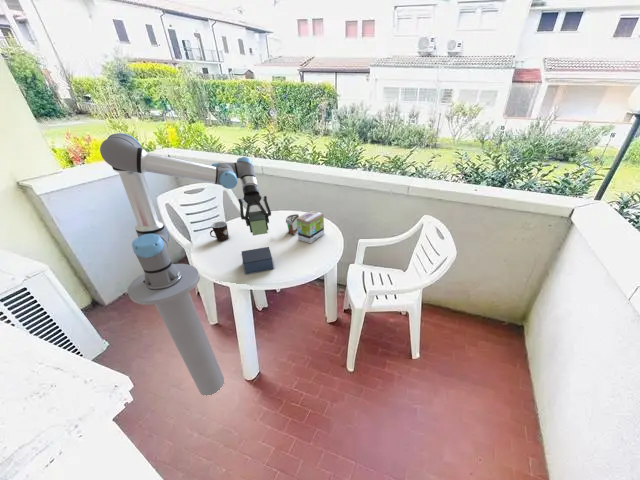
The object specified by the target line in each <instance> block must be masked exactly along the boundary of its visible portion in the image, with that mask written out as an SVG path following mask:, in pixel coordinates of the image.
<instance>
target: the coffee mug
mask: <svg viewBox="0 0 640 480" xmlns="http://www.w3.org/2000/svg"><path fill="white" fill-rule="evenodd" d="M211 228H212V230H210V232H209V235H210V237H212V238H216V240H217V241H218V242H226V241H228V240H229V239H230V238H229V237H230V236H229V229H228V223H227V222H226V221H216V222H213V223H212V224H211ZM212 233H214V235H215V236H214V235H213V234H212Z"/></svg>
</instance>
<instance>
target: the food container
mask: <svg viewBox="0 0 640 480" xmlns="http://www.w3.org/2000/svg"><path fill="white" fill-rule="evenodd" d="M298 217H300V216H299V214H297V213H296V214H290V215H288V216H287V217H286V218H285V224H287V225H286V226H287V229H288V233H289V235H292V236H295V235H296V234H297V233H298V230H297V218H298Z"/></svg>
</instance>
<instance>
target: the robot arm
mask: <svg viewBox="0 0 640 480" xmlns="http://www.w3.org/2000/svg"><path fill="white" fill-rule="evenodd" d="M99 153H100V156H101V158H102V159H103V160H104V162H105V163H106V164H108V165H109V166H111V168H112V170H113V171H115V172H116V173H118V174H119V177H120V180H121V182H122V186H123V188H124V191H125V194H126V197H127V199H128V201H129V204H130V207H131V209H132V213H133V215H134V218H135V220H136V223H137V224H136V225H135V227H134V229H135V232H136V235H137V237H136V238H135V239H134V240H133V241H132V242H131V247H132V251H133V253H134V254H135V256H136V258H137V260H138V262H139V264H140V266H141V268H142V270H143V273H145V280H144V281H143V282H144V283H145V284H146V286H147V288H148V289H150V290H162V289H166V288H169V287H171V286H173V285H175V284H177V283H178V282H179V281H180V280H181V278H182V275H181V273H180V271H179V270H178V269H177V268H176V267H175V266H174V265H173V264H174V263H172V260H171V258H170V256H169V252H168V247H169V241H170V234H169V232H168V230H167V229H166V227H165V224H164V222H163V221H160V220H159V217H158V215H157V211H156V207H155V205H154V202H153V198H152V195H151V192H150V188H149V186H148V182H147V179H146V176H145V174H146V172H147V173H152V174H157V175H158V174H159V175H163V176H168V177H173V178H181V179H184V180H190V181H197V182H203V183H206V184H207V183H208V184H214V185H220V186H222V187H223V188H225V189H228V190H232V189H234V188H235V187H237V186H238V179H240V185H241V188H242V193H243V198H238V199H237V201H238V204H239V211H240V219H241V220H244V221H245V225H246V227H249V231H250V233H251V234H253V233H252V229H251V224H250V222H249V217H248V214H249V212H251V207H253V206H257V207H258V208H259V211H262V212H263V213H264V215H265V219H266V220H265V221H266V227H267V231H269V225H268V224H270V219H269V217H271V216H272V212H271V209H270V208H271V207H270V206H269V203H268V197H267V195H264V196H261V193H260V189H259V185H258V180H257V177H256V171H255V166H254V163H253V160H252V159H251V158H250V157H247V156H242V157H239V158H237V159H236V162H214V163H211V165H209V164H204V163H201V162H196V161H190V160H185V159H181V158H176V157H173V156H167V155H162V154H158V153H154V152H148V151H147V150H145V149H144V148H143V147H142V145H141V143H140V142H139V141H138V140H137V139H136V138H135V137H133V135H130V134H128V133H124V132H123V133H122V132H117V133H113V134H110V135H109V136H108V137H107V138H106V139H105V140H103V141H102V142H101V144H100V146H99ZM261 201H262V202H264V206H265V208H266V209H265V208H264V207H263V205H262V203H261ZM244 204H246V205H247V206H246V208H245V209H246V210H245V215H244Z"/></svg>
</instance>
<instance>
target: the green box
mask: <svg viewBox="0 0 640 480" xmlns="http://www.w3.org/2000/svg"><path fill="white" fill-rule="evenodd" d="M248 218H249V222H250V224H251V229H252V233H251V234H252V236H259V235H265V234H269V232H268V230H267V227H266V221H265V220H266V219H265V215H264V213H263V212H262V211H261V210H256V211H255V210H254V211H250V212H249V214H248Z"/></svg>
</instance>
